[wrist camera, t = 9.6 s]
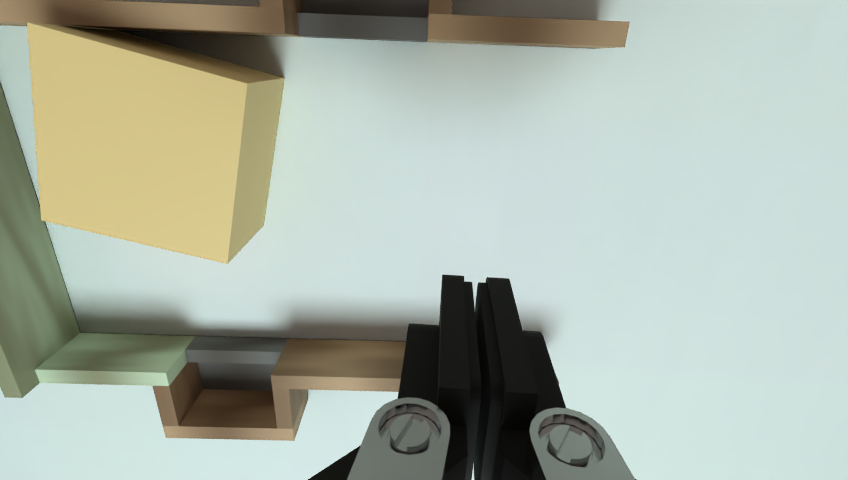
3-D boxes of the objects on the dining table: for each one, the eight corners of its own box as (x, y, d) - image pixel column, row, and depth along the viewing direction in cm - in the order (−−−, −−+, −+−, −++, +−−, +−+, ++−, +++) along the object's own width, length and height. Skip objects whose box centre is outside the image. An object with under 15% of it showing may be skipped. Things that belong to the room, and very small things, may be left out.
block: (285, 77, 19) (247, 83, 15) (265, 223, 21) (227, 263, 17) (117, 30, 18) (27, 22, 14) (117, 187, 21) (41, 220, 17)
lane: (614, -72, 17) (669, -109, 13) (532, 404, 26) (551, 462, 22) (-82, -103, 16) (-231, -151, 12) (85, 393, 25) (28, 451, 21)
